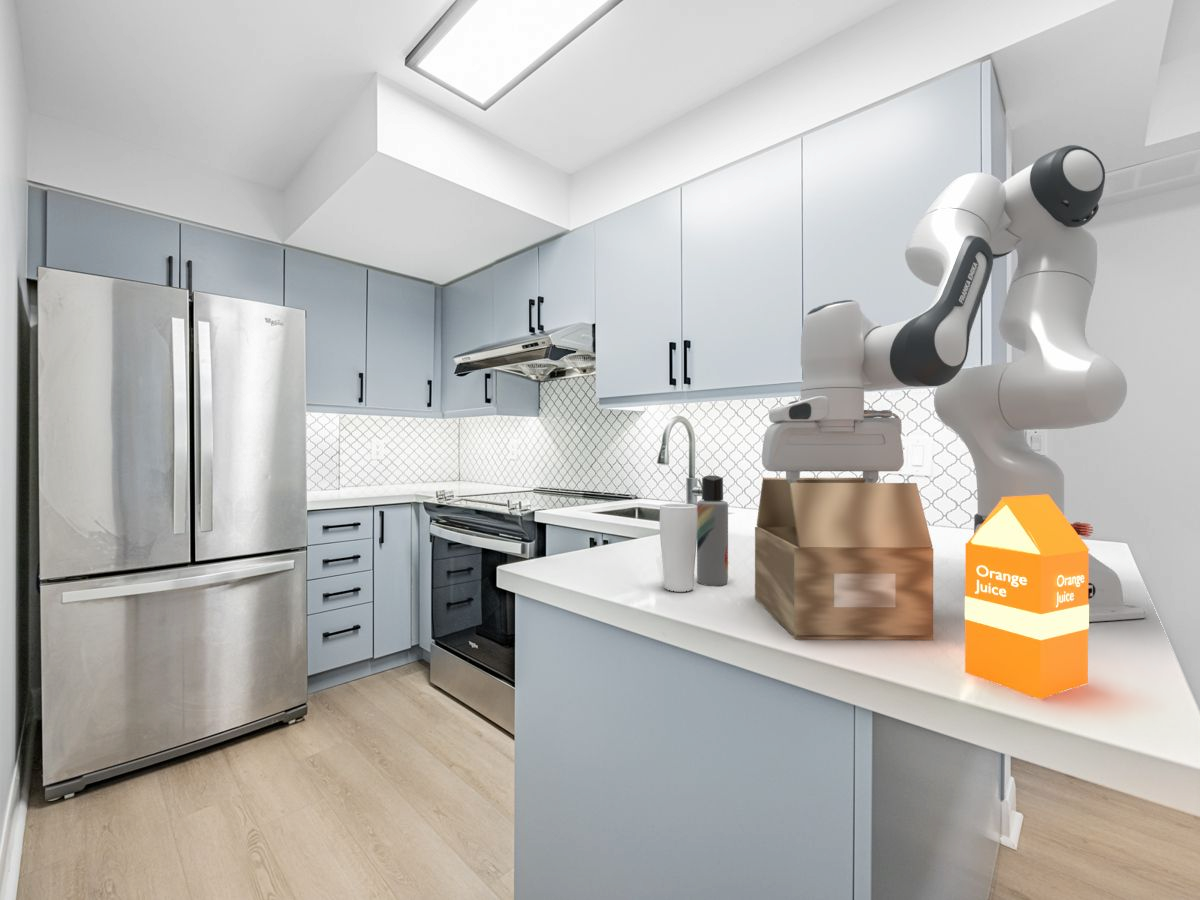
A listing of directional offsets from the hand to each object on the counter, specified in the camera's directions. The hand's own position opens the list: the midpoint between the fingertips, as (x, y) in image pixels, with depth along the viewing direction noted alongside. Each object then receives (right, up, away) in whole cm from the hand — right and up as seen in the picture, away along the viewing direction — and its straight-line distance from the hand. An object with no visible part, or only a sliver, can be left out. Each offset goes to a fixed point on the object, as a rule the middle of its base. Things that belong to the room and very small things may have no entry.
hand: (831, 501), depth 84 cm
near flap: (0, -1, -9) cm, 9 cm away
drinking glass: (-21, -17, +16) cm, 31 cm away
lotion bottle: (-14, -17, +20) cm, 30 cm away
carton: (0, -17, -1) cm, 17 cm away
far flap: (0, -1, +7) cm, 7 cm away
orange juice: (+12, -17, -23) cm, 31 cm away
